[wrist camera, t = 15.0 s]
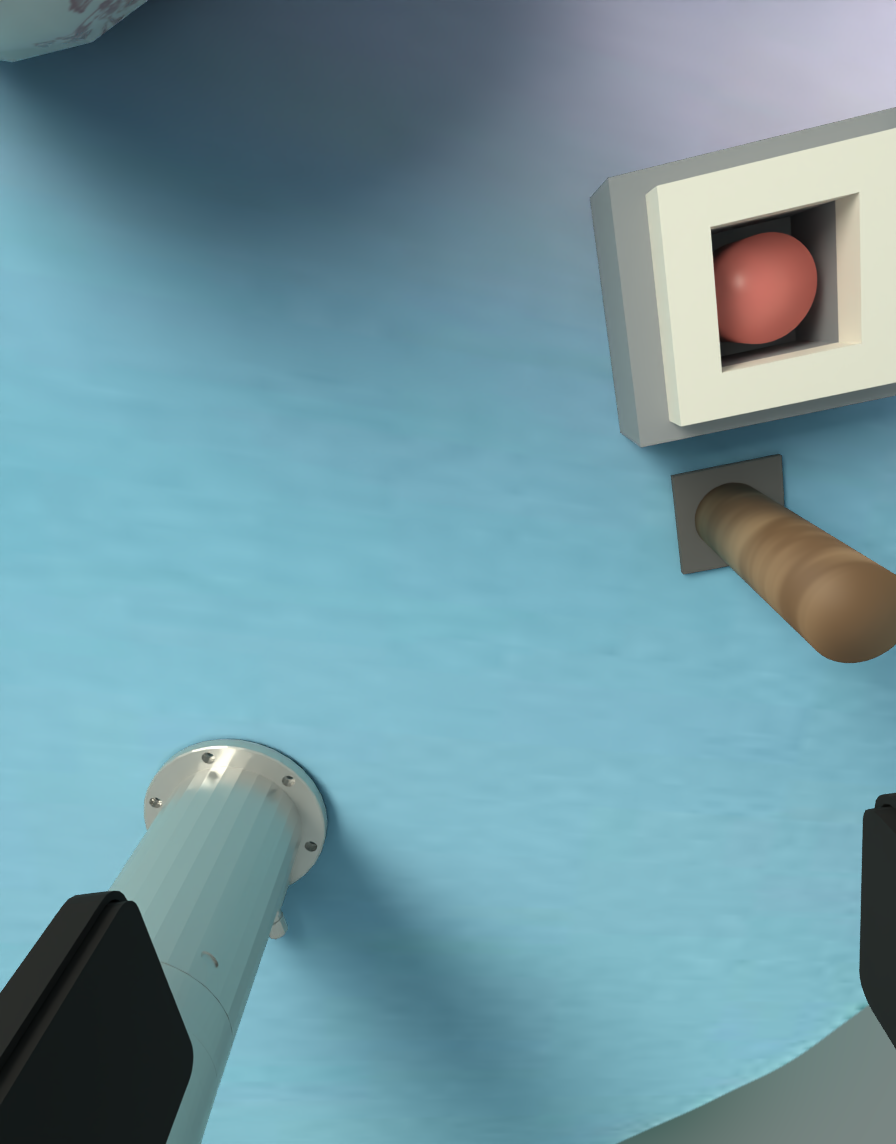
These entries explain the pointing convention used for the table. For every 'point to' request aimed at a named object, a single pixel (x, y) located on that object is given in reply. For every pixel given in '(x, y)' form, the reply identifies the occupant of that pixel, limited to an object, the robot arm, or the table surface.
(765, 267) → the egg
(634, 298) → the grey white square holder
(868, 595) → the brown rounded cylinder
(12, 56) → the chamber pot
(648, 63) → the table surface
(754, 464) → the coaster
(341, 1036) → the table surface
